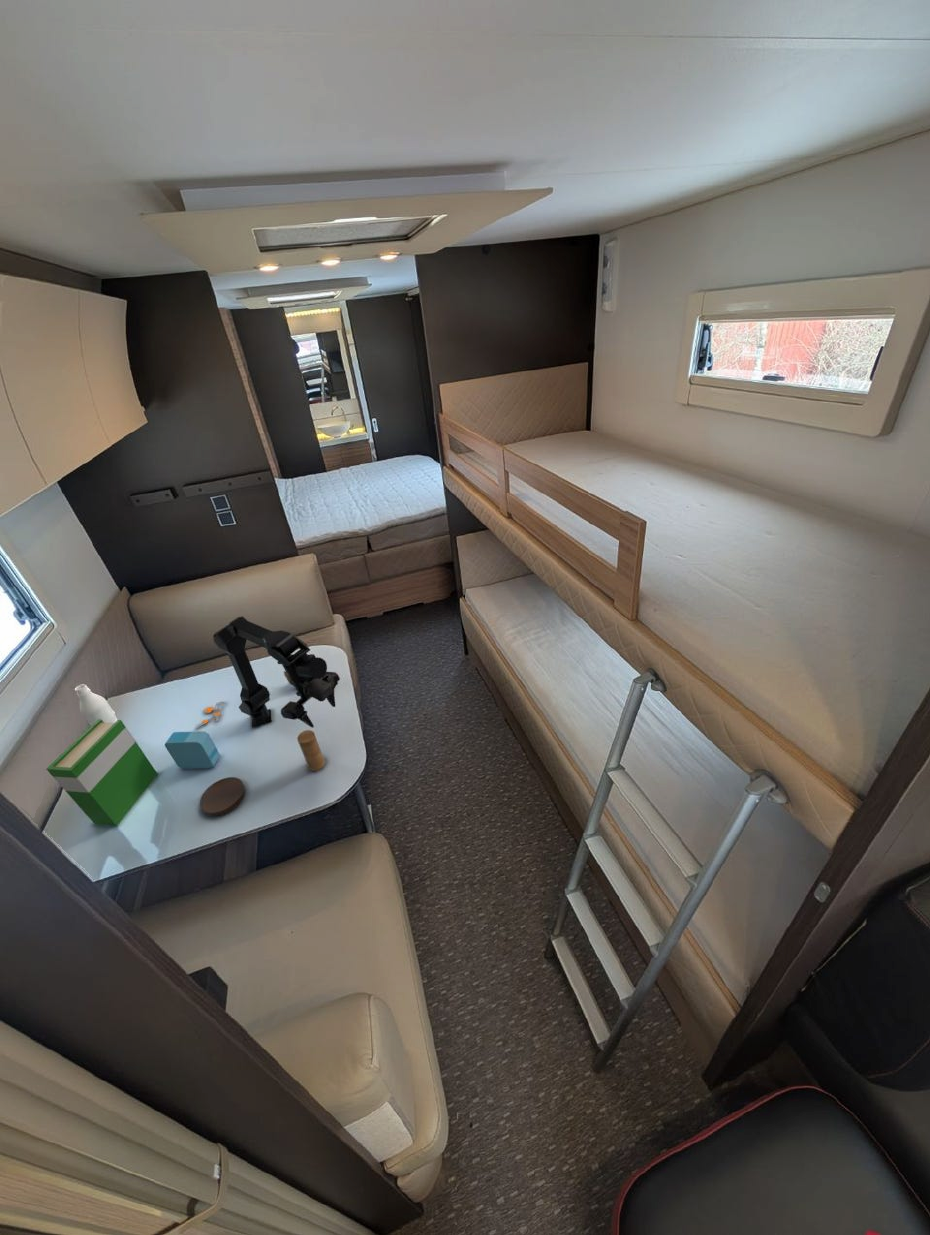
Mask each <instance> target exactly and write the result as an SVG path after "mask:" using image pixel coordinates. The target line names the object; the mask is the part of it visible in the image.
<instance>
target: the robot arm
mask: <svg viewBox="0 0 930 1235" xmlns="http://www.w3.org/2000/svg"><path fill="white" fill-rule="evenodd" d="M212 638H213V643H214V644H215V645H216V646H217V647H218V649H219V650H222V651H223V652H225V653H227V655H228V658H229V660H230V662H231V665H232V667H233V669H234V672H235V674H236V676H237V679H238V681H239V683H240V686H241V690H240V694H239V697H240V700H241V703H240V705H239V706H238V709H239V711H240V712H241V713H243V714H244V715H247V716H249V717H250V718H251V728H257V727H260V726H263V725H266V724H269V723H272V720H273V719H272V709H268V707H267V705H266V703H268V702H270V701H271V697H270V696H271V693H270V691H269V689H268V687H267V686H265V685H263V684H261V683H259V681H258V678H257V677H256V674H255V672H254V669H253V667H252V664H251V662H250V659H249V656H248V654H247V651H246V650H245V648H246V644H247V641H249V642H251V643H253V644H256V645H258V646H261V647H262V648H264V649H265V650H266V651H267V654H268V655H269V656H270V657H271V658H272V659H274V660H276V662H277V664H278V665H281V666H282V667H283V669H284V671H285V672H286V673H287V674H288V676H289V678H290V680H291V681H290V683H289V684H290V685H291V686H292V685H294V686H293V687H294V689H295V690H296V692H295V695H296V696H297V697H300V698H299V699H298V700H297V701H288V702H287V704H285V705H284V706H283V707H281V708H280V715H281V716H282V718H283V719H288V720H294V721H295V720H297V719H298V720H300V721H301V722H302V723H304V724H305V725H307V726H308V727H309V728H312V729H313V728H314V727H315V726H314V723H313V722H312V719H310V717H309V715H308V710H305V709H306V708H305V707H304V706H305V704H306V703H307V702H308V701H310V700H311V699H312V698H313V699H315V700H317V701H318V702H324V701H325V700H327V701H328V703H329V705H330V706H331V707H332V708H335V707H336V696H335V689H336V687H337V686H338V684H339V681H340V680H341V677H340V676H339V674H338V673H337V672H336V671H327V670H328V663H327V661H326V660H325V659H324V658H322V657H318V656H317V657H316V655H315V654H313V653H311V654H308V653H309V652H310V651H311V649H310V647H309V646H308V644H307V643H305V642H304V641H303V640H301V639H300V638H299V637H298V636H297V635H296V634H294V633H292V632H290V631H285V630H275V631H273V630H271V629H268V628H266V627H264V626H261V625H258V624H256V623H254V622H252V621H250V620H248V619H247V618H246V617H245V616H243V615H241V616H238V617H236V618H235V619H233V620H231V621H230V622H228V623H227V625H225V626H224V627H222V628H220V629H219V630H218V631H216V632H215V633H214V634H213V635H212Z"/></svg>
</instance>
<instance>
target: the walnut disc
mask: <svg viewBox="0 0 930 1235" xmlns="http://www.w3.org/2000/svg"><path fill="white" fill-rule="evenodd" d="M246 793H247V792H246V787H245V784H244V783H243V781H242V780H241V779H240V778H237V777H233V776H232V777H231V776H229V777H225V778H221V779H219V780H216V781H215V782H213V783H212V784H210V785H209V786H208V787H207V788H206V789H205V790H204V792H203V793H202V795H200V796H201V797H200V799H199V807H200V810H201V811H202V812H203V814H205V816H207V817H211V818H219V817H223V816H226V815H228V814H230V813H231V812H233V811H234V810H235V809H236V808H238V807H239V806H240V805H241V804H242V802H243V801H244V799H245V796H246Z"/></svg>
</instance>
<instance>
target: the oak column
mask: <svg viewBox="0 0 930 1235" xmlns="http://www.w3.org/2000/svg"><path fill="white" fill-rule="evenodd" d="M296 739H297V743H298V745H299V748H300V750H301V752H302V754H303V757H304V759H305V762H306V764H307V766H308V770H310V771H312V772H316V771H320V770H321V769H322V768H324V767H325V764H326V760H325V757H324V754H323V752H322V748H321V747H320V745H319V741H318V740H317V736H316V734H315V732H314V731H313V730H311V729H306V730H303V731H302V732H300V733H299V734H298V736H297V737H296Z"/></svg>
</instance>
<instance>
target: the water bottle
mask: <svg viewBox="0 0 930 1235" xmlns="http://www.w3.org/2000/svg"><path fill="white" fill-rule="evenodd" d="M74 691H75V692H76V695H77V697H79V710H80V713H81V714H82V715H83V716H84V718H85V719H86V720H87V722H88V723H89V726H90V727H91V726H92V725H93V724H94V723H95V722H96V721H97V720H98V719H102V721H103V722H104V723H115V722H116V721H117V720H118V717H117V716H116V712H115V711H114V710H113V708H112V707H111V706H110V704H109V702H108V700H107V699H106V698H105V697H103V696H101V695H99V694H96V693H94V692H92V691H91V688H89V686H87V684H86V683H81V684H79V685H77V686H76V687H75V688H74Z"/></svg>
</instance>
